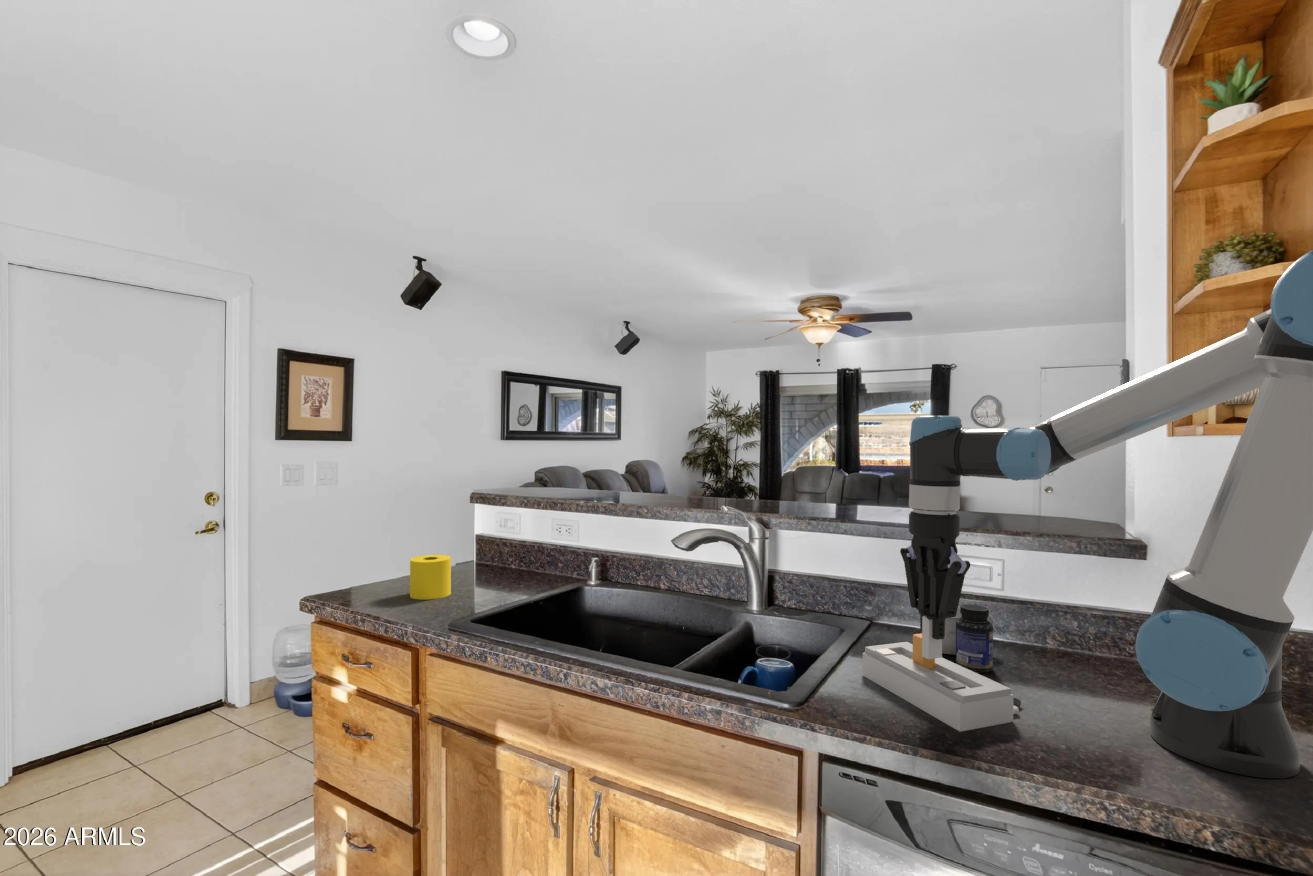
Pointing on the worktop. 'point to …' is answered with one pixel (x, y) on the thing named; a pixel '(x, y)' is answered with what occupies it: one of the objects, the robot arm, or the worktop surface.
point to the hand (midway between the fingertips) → (931, 656)
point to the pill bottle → (974, 639)
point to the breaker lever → (918, 653)
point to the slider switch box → (939, 687)
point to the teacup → (954, 633)
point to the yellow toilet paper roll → (430, 577)
